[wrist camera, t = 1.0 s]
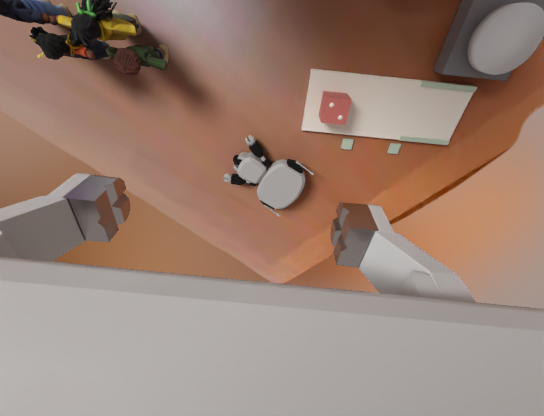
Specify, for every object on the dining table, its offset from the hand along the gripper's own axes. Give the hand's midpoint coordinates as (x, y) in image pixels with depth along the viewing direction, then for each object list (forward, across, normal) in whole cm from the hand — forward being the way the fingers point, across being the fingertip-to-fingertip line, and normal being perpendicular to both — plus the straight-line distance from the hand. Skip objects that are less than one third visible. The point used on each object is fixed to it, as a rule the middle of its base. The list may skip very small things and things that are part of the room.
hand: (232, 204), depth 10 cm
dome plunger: (+38, -31, -6) cm, 49 cm away
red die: (+39, -11, +6) cm, 41 cm away
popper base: (+40, -31, -6) cm, 51 cm away
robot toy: (+40, -1, +20) cm, 45 cm away
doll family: (+40, +26, -1) cm, 48 cm away
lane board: (+40, -20, +7) cm, 45 cm away
